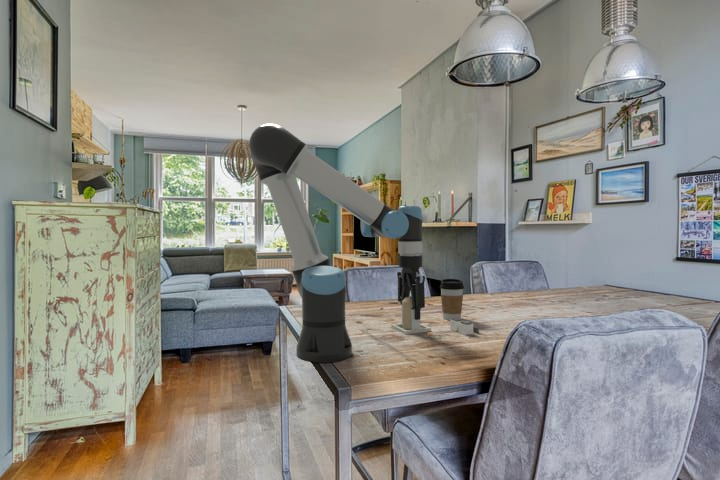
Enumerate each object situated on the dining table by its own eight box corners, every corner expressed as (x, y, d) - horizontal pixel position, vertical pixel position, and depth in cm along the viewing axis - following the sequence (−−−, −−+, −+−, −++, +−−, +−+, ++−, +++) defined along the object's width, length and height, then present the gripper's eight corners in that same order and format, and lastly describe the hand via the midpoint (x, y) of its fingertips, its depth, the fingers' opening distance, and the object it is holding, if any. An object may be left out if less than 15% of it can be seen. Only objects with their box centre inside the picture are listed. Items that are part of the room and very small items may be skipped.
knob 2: (465, 334, 123) (465, 323, 123) (459, 332, 126) (459, 321, 126) (473, 333, 124) (473, 322, 124) (466, 331, 127) (466, 320, 127)
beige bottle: (419, 330, 128) (418, 298, 127) (401, 329, 129) (401, 298, 128) (420, 325, 133) (419, 295, 133) (403, 325, 134) (402, 295, 134)
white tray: (418, 347, 116) (418, 336, 116) (388, 332, 133) (388, 322, 133) (480, 338, 125) (480, 327, 125) (445, 324, 142) (445, 315, 142)
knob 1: (456, 331, 127) (456, 320, 127) (450, 329, 130) (450, 318, 130) (463, 330, 129) (463, 319, 128) (458, 328, 131) (458, 317, 131)
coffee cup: (462, 319, 149) (462, 278, 148) (465, 325, 140) (465, 282, 140) (438, 319, 150) (438, 278, 149) (441, 325, 141) (440, 282, 140)
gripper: (436, 256, 123) (437, 332, 124) (406, 252, 140) (406, 319, 141) (415, 257, 120) (415, 335, 121) (386, 253, 137) (387, 321, 138)
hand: (410, 326), depth 131 cm, fingers closed on beige bottle, 5 cm apart
